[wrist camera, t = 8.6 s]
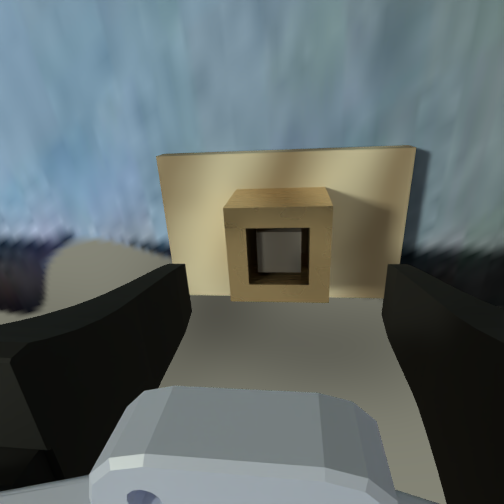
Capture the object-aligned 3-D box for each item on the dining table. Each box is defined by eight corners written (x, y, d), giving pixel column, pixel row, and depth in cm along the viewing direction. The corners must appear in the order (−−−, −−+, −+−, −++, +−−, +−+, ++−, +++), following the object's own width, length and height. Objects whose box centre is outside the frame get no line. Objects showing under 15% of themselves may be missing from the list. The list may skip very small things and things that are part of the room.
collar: (324, 186, 18) (333, 206, 15) (322, 268, 20) (328, 302, 17) (236, 189, 19) (222, 208, 15) (241, 267, 21) (231, 301, 17)
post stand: (408, 145, 18) (442, 155, 14) (389, 288, 22) (412, 330, 18) (163, 154, 20) (130, 165, 16) (182, 285, 23) (159, 323, 19)
